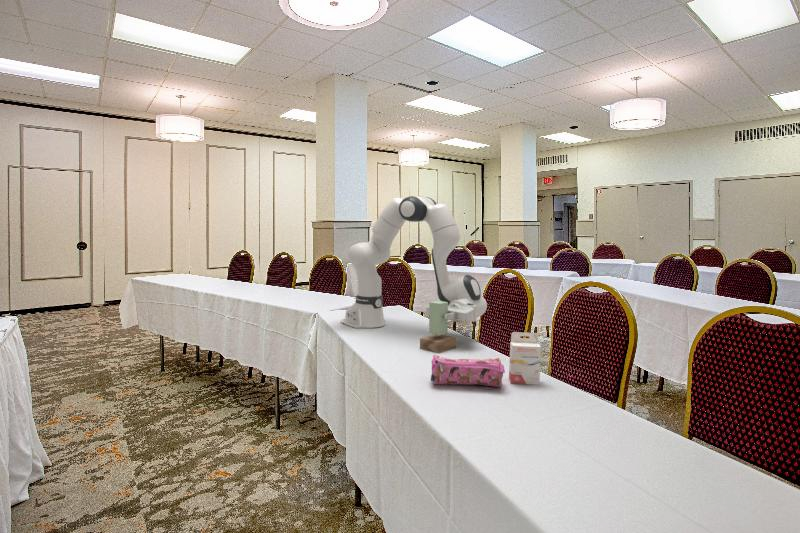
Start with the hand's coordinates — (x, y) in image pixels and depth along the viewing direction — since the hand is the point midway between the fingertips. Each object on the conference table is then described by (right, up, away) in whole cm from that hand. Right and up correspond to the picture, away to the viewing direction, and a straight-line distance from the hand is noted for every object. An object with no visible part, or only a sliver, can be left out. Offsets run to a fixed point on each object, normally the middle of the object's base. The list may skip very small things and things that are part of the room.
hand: (437, 315), depth 180 cm
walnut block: (+1, -13, +2) cm, 13 cm away
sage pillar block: (+1, -7, +1) cm, 7 cm away
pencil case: (+6, -17, -39) cm, 43 cm away
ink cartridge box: (+24, -17, -36) cm, 46 cm away
